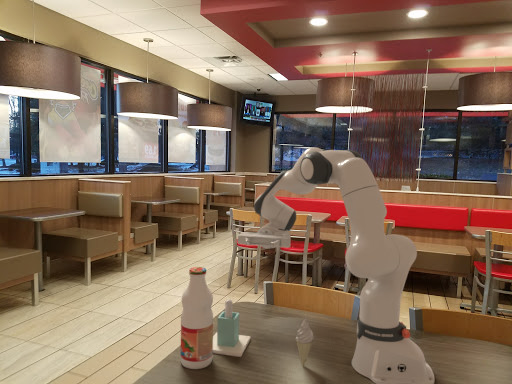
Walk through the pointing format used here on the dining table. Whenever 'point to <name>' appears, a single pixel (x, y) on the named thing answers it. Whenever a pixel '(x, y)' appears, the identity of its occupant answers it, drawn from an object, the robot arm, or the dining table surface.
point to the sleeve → (228, 330)
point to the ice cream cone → (304, 340)
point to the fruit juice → (197, 322)
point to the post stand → (239, 345)
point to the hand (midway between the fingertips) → (260, 244)
